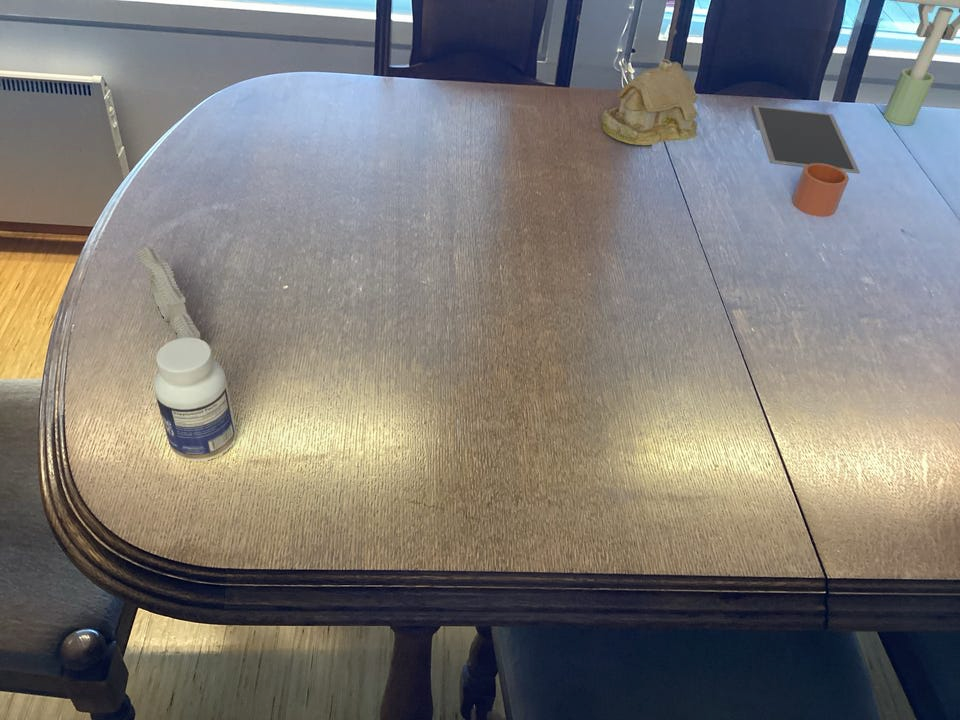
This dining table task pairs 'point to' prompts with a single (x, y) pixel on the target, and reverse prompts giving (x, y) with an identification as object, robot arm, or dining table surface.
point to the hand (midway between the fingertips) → (933, 37)
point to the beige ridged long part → (168, 293)
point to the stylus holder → (820, 189)
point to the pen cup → (907, 98)
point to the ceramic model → (654, 107)
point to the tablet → (802, 138)
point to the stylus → (931, 43)
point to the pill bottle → (193, 400)
